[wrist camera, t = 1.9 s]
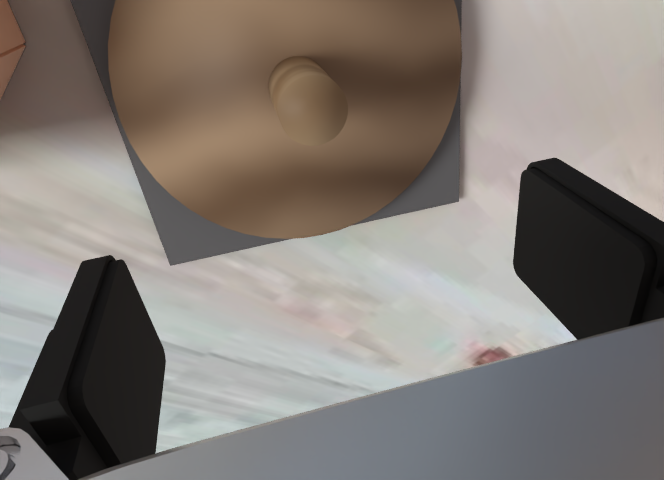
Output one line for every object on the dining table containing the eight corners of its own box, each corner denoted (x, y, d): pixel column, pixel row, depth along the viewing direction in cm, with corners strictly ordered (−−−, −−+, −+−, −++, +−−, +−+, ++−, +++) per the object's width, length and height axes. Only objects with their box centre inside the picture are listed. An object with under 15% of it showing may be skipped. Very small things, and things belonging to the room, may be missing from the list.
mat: (455, 198, 34) (458, 201, 33) (170, 261, 32) (170, 265, 31) (459, -165, 23) (463, -168, 23) (32, -110, 21) (29, -111, 21)
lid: (452, 196, 33) (496, 241, 28) (176, 257, 31) (168, 318, 26) (453, -154, 23) (523, -186, 18) (46, -98, 21) (-10, -117, 16)
